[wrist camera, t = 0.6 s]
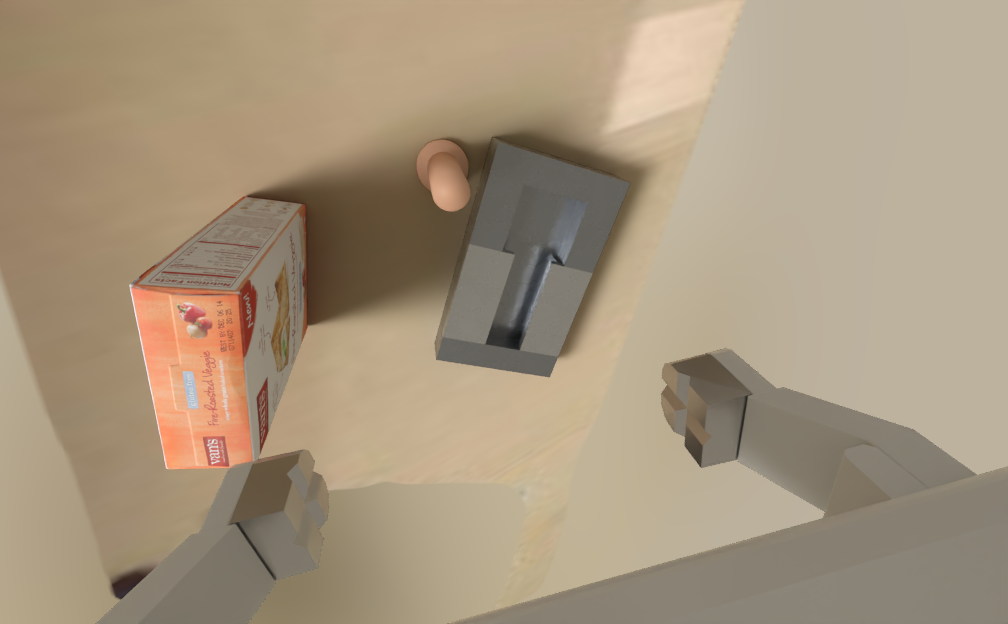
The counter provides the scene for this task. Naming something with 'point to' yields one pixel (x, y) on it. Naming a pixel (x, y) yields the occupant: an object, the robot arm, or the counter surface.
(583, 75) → the counter surface
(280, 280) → the cracker box
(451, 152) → the peg
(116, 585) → the counter surface
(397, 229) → the counter surface
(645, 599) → the robot arm
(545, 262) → the keyhole board
